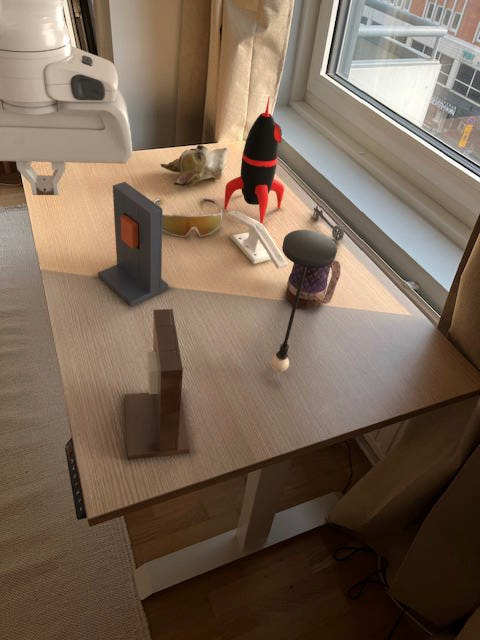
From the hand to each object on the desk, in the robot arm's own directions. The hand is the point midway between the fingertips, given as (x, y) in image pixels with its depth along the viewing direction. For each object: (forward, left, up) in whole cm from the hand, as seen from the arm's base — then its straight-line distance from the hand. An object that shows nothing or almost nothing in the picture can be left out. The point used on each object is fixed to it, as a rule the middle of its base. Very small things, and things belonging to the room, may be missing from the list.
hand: (46, 192), depth 61 cm
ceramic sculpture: (+26, +54, -27) cm, 66 cm away
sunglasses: (+22, +37, -27) cm, 51 cm away
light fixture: (+31, -8, -27) cm, 42 cm away
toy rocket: (+37, +41, -27) cm, 62 cm away
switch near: (+12, -15, -18) cm, 26 cm away
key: (+52, +33, -27) cm, 67 cm away
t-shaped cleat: (+34, +26, -27) cm, 51 cm away
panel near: (+12, -15, -27) cm, 33 cm away
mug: (+41, +9, -27) cm, 50 cm away
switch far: (+10, +16, -18) cm, 26 cm away
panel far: (+10, +16, -27) cm, 33 cm away
